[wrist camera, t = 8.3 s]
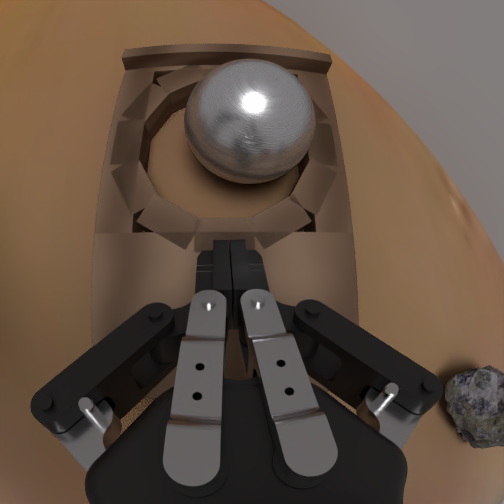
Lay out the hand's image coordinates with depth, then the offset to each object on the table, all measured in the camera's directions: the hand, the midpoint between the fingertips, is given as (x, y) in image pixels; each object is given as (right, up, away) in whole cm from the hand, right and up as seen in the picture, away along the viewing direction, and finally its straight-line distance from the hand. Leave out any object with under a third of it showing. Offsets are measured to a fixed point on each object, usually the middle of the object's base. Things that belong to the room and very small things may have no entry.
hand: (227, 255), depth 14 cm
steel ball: (+1, +8, +3) cm, 9 cm away
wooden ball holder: (-1, +3, +6) cm, 7 cm away
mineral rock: (+23, -14, +6) cm, 28 cm away
